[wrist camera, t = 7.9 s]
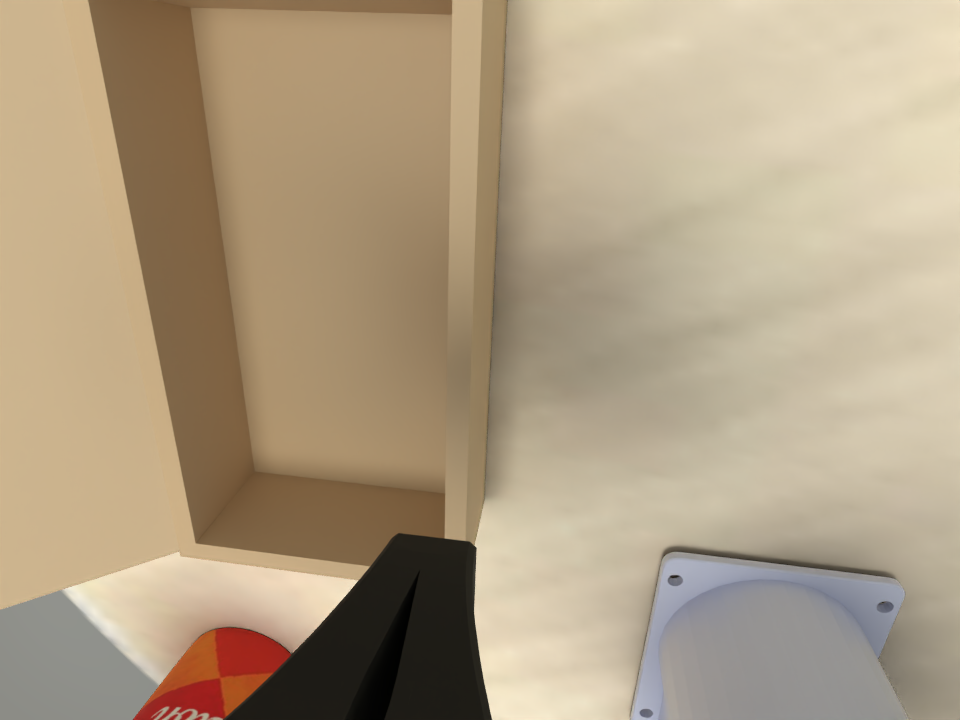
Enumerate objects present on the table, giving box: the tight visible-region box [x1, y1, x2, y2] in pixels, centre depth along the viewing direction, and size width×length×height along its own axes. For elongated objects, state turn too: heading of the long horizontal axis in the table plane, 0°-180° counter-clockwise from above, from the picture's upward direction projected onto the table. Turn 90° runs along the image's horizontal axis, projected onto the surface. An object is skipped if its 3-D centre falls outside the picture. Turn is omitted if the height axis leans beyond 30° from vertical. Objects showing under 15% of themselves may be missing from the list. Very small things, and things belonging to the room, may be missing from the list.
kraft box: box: [62, 0, 507, 580], centre depth 18 cm, size 16×9×4 cm, turn 178°
